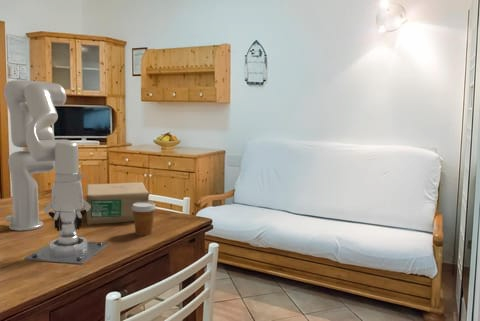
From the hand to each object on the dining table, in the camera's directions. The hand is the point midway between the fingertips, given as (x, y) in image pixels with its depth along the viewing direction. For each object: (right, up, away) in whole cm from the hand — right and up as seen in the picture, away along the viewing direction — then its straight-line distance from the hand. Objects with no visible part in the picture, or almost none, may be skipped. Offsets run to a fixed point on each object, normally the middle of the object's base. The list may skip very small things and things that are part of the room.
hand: (68, 228), depth 147 cm
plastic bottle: (0, -7, +1) cm, 7 cm away
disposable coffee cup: (+21, -6, +25) cm, 33 cm away
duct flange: (0, -8, +1) cm, 8 cm away
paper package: (+3, -3, +50) cm, 50 cm away
